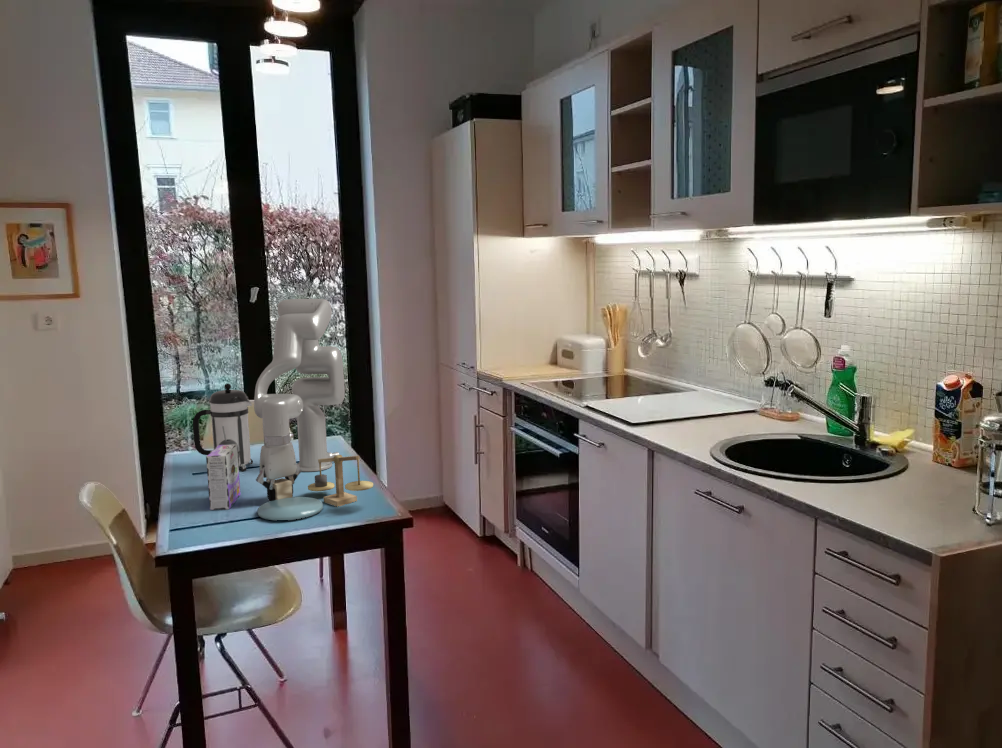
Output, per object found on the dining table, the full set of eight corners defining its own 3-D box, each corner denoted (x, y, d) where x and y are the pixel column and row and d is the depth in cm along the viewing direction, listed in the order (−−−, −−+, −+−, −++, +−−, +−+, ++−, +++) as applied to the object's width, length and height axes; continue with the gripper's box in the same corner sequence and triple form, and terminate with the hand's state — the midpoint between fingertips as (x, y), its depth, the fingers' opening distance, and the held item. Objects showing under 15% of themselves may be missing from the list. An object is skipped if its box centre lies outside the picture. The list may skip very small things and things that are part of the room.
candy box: (221, 496, 240) (217, 444, 238) (241, 495, 241) (237, 443, 238) (209, 510, 226) (204, 455, 224) (229, 509, 227) (225, 454, 224)
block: (283, 497, 238) (282, 478, 237) (292, 500, 235) (291, 481, 234) (269, 501, 235) (267, 481, 234) (277, 504, 231) (276, 484, 230)
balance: (325, 489, 245) (322, 441, 242) (379, 507, 226) (377, 455, 223) (303, 495, 239) (300, 446, 236) (357, 514, 220) (354, 461, 218)
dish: (300, 498, 236) (300, 493, 236) (335, 510, 224) (335, 505, 224) (246, 513, 223) (245, 507, 223) (279, 527, 211) (279, 521, 211)
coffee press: (242, 459, 284) (236, 378, 280) (263, 467, 273) (257, 383, 268) (195, 469, 272) (188, 384, 268) (215, 477, 261) (208, 389, 256)
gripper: (295, 433, 241) (298, 490, 243) (244, 443, 228) (248, 503, 231) (308, 436, 235) (312, 494, 238) (257, 447, 223) (261, 508, 226)
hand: (280, 498), depth 234 cm, fingers open, 5 cm apart
